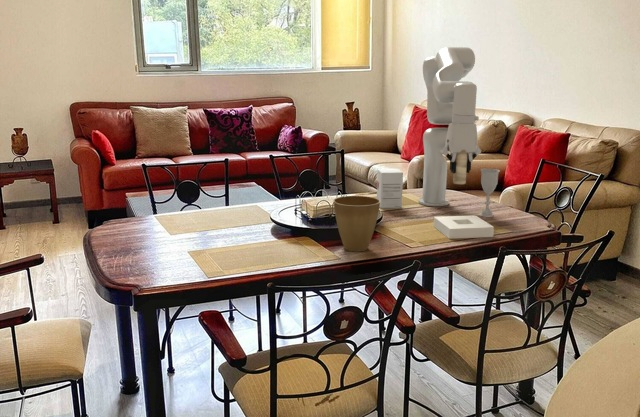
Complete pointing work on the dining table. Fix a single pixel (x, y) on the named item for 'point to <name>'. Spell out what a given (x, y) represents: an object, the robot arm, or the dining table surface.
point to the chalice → (488, 187)
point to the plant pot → (356, 220)
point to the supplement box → (390, 188)
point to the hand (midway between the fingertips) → (459, 171)
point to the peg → (460, 168)
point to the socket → (463, 227)
